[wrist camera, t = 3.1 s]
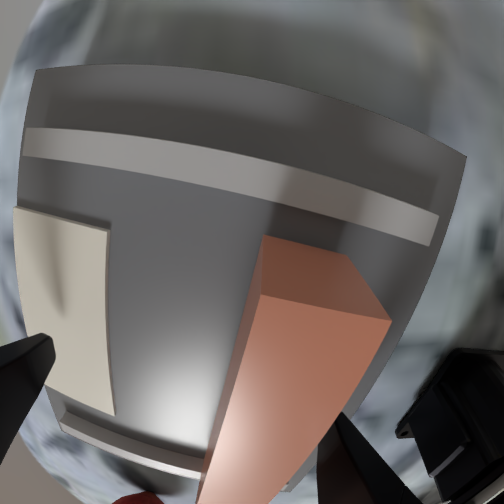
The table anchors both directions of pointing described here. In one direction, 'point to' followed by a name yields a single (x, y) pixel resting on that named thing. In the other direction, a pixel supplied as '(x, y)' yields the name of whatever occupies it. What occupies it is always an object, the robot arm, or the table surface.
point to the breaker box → (200, 235)
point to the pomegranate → (139, 499)
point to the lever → (289, 369)
